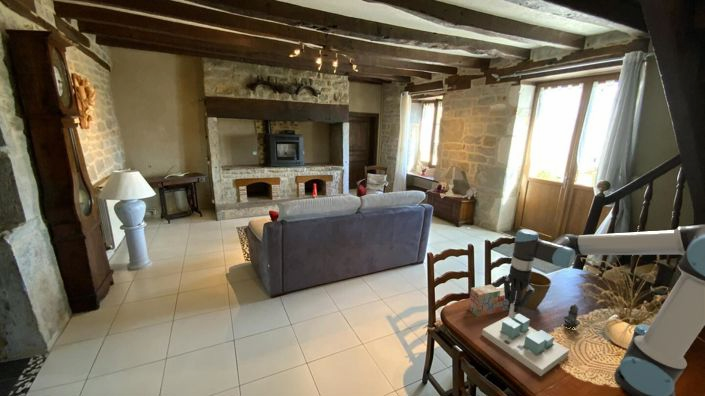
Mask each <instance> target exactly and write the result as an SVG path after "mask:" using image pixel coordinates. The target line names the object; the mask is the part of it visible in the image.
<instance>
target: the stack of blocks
mask: <svg viewBox="0 0 705 396" xmlns="http://www.w3.org/2000/svg"><path fill="white" fill-rule="evenodd" d="M468 300H469V302H468V310H469V312H471V313H472V314H473V315H474V316H476V317H481V316H486V315H492V314H495V313H500V312H505V311H509V310H510V309H508V305H509V301H508V300H507V299H505V293H504V287H498V288H497V287H495V286H494V285H492V284H487V285H481V286H476V287H475V286H474V287H471V288H470V293H469V299H468Z"/></svg>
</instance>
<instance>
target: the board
mask: <svg viewBox="0 0 705 396" xmlns="http://www.w3.org/2000/svg"><path fill="white" fill-rule="evenodd" d="M508 316H509V315H508ZM508 316H505V317H503V318H502V319H500V320H498V321H496V322H494V323H491V324H489V325H488V326H486V327H484V328H482V331H481V332H482V333H481V336H483V337H484V338H486V339H487V340H488V341H490V342H492V343H493V344H494V345H496V346H497V347H499V348H500V349H501V350H502V351H504V352H506V353H507V354H508V355H510V356H511V357H513V358H514V359H516V360H517V361H518V362H520V363H521V364H523V365H524V366H525V367H527V368H528V369H529V370H531V371H533V372H534V373H535V374H537V375H538V376H540V377H542V376H544V375H545V374H546V373H548V372H549V371H550V370H551V369H553V368H554V367H556V365H558V364H559V363H561V362H562V361H563V360H565V359H566V358H567V357H569V354H570V349H569V348H567V347H566V346H565V347H564V345H562V344H561V343H558V342H556V341H555V340H553V345H552V347H550V348H549V349H547V350H546V349H545V348H544V350H543V351H541V352H540V353H538V354H537V355H536V354H535V353H533V352H532V351H530V350H528V349H527V348H525V347H524V343H525V338H526V336H527V335H528V334H530V333H532V332H534V333H537V332H538V331H539V330H538V331H537V330H536V329H534V328H533V327H532V326H529V328H528V330H526V331H525V332H523V333H521V332H519V335H518V336H516V337H514V338H510V337H509V336H507V335H505V334H504V333H502V332H501V328H502V322H503V321H505V320H507V319H509V317H508ZM510 319H511V318H510Z"/></svg>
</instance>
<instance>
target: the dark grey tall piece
mask: <svg viewBox="0 0 705 396" xmlns="http://www.w3.org/2000/svg"><path fill="white" fill-rule="evenodd" d="M567 312H568V315H566V316H564V317H563V320H564V323H563V324H562V326H563V327H564V326H565V327H567V328H570V327H571V328H570V329H572V328H573V327H576V328H577V327H578V326H579V325H580V321H579V320H578V318H577V317H578V315H579V313H578V312H579V307H578V306H577V304H572V305H570V308H569V310H568V311H567ZM565 327H564V328H565ZM567 328H566V329H567ZM573 329H574V328H573Z"/></svg>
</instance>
